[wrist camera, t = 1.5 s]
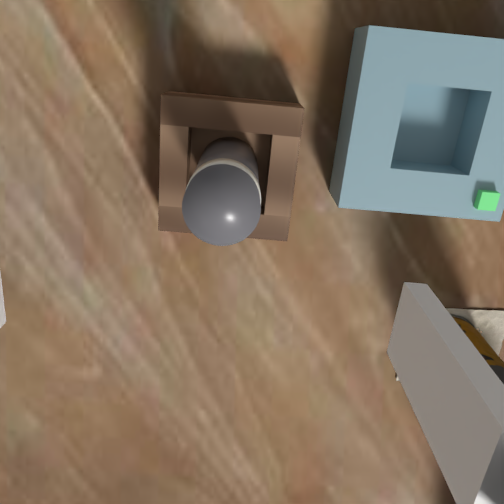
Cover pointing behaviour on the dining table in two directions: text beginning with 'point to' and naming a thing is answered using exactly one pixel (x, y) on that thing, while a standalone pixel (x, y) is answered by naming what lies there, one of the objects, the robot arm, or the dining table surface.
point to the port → (422, 125)
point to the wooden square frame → (229, 125)
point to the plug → (223, 193)
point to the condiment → (492, 327)
